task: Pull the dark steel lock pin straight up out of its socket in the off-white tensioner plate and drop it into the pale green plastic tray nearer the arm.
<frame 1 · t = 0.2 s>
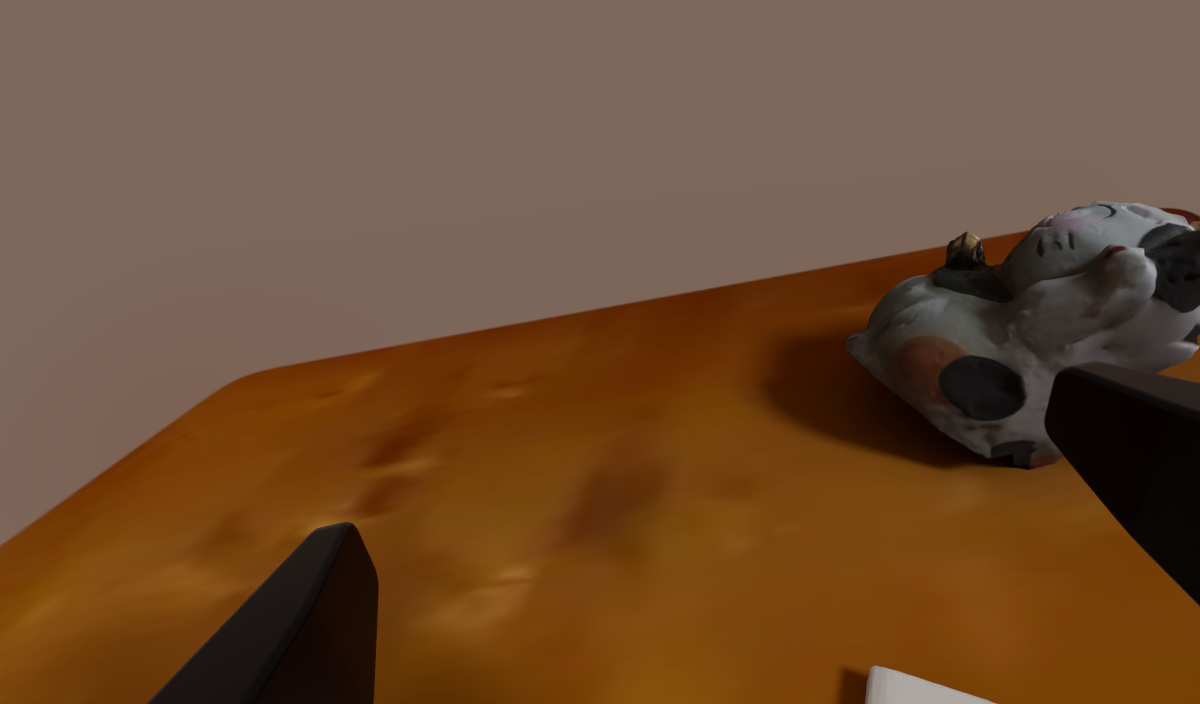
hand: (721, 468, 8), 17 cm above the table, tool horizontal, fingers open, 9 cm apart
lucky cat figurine: (988, 400, 35), on the table
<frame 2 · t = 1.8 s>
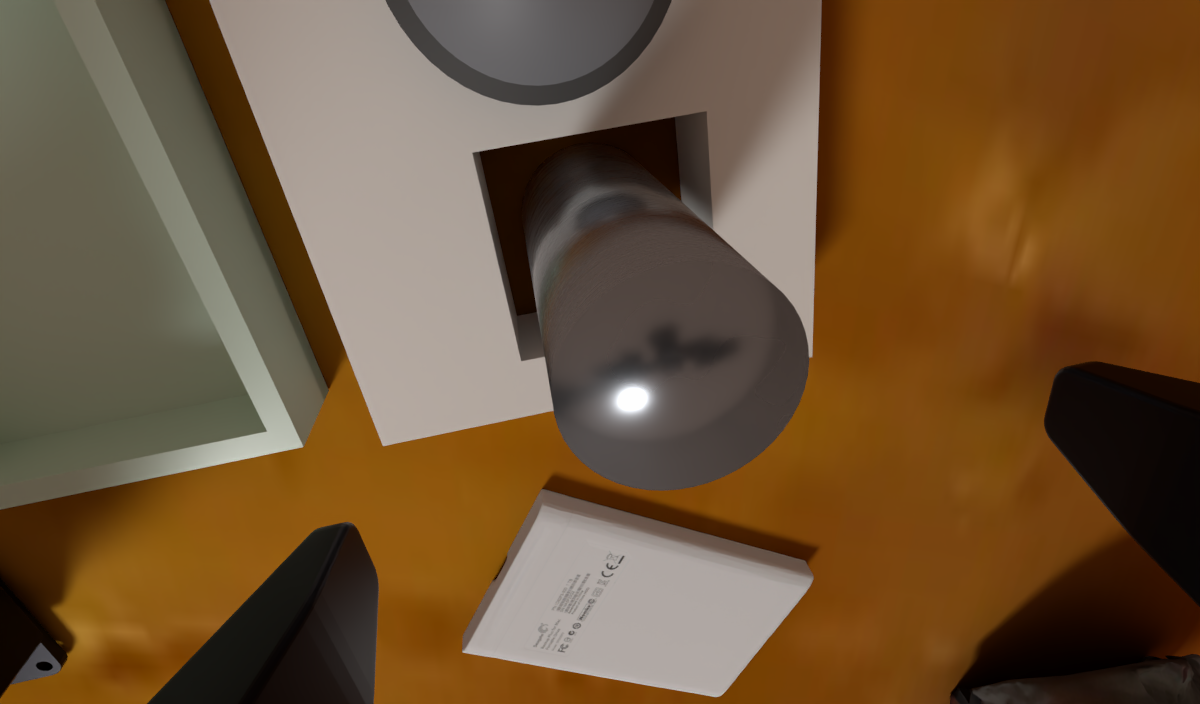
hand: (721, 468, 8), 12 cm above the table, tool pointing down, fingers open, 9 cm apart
lock pin: (590, 213, 18), resting in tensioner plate
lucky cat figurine: (1038, 686, 35), on the table
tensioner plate: (549, 129, 17), on the table
tray: (44, 218, 16), on the table
external hard drive: (634, 583, 27), on the table
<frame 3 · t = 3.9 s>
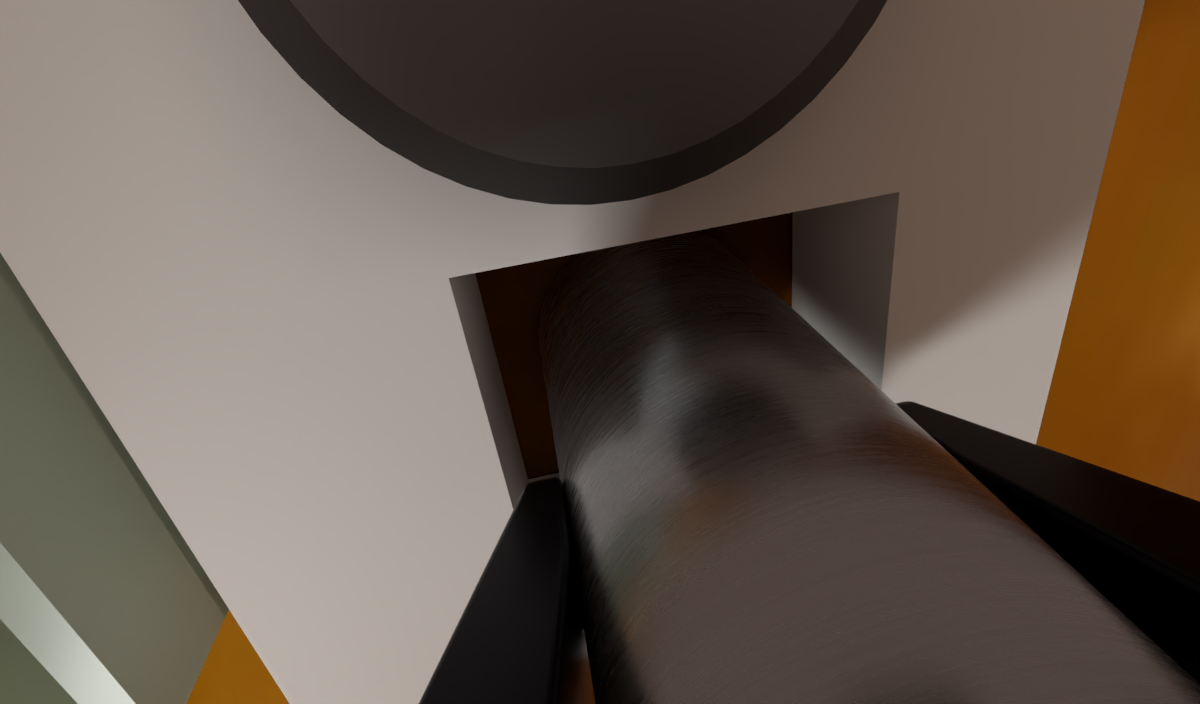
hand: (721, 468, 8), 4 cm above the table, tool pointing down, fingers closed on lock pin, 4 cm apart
lock pin: (648, 329, 11), resting in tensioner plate, touching gripper
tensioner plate: (586, 203, 10), on the table
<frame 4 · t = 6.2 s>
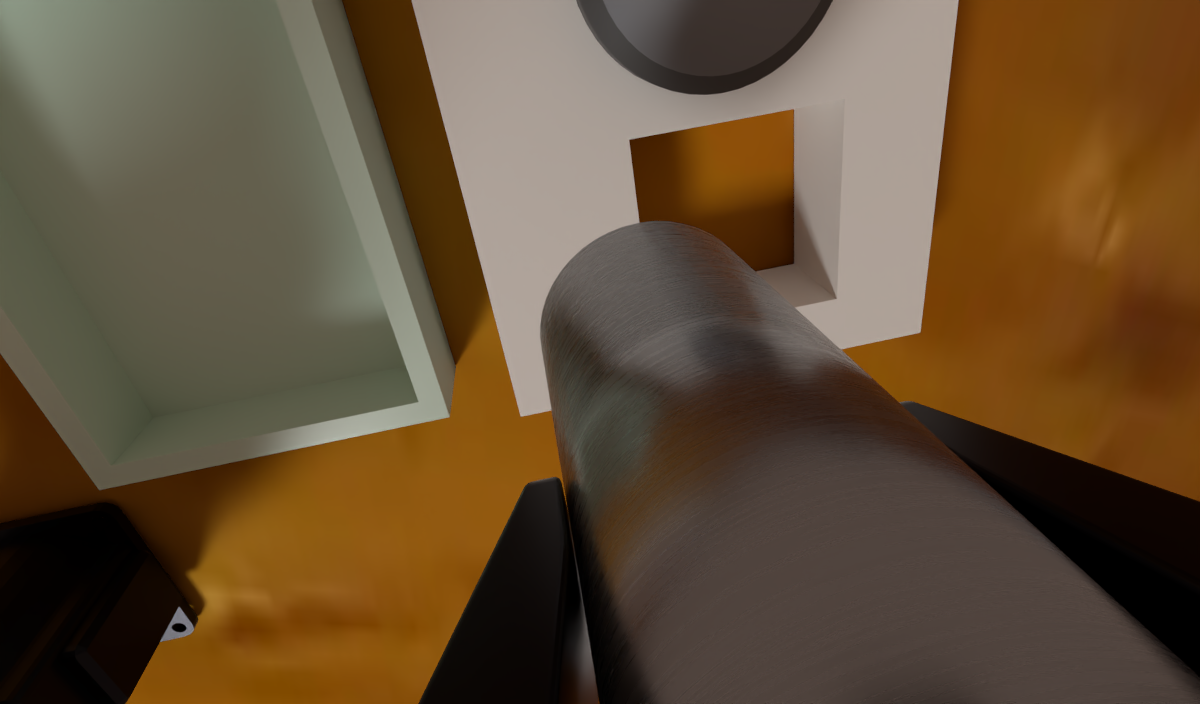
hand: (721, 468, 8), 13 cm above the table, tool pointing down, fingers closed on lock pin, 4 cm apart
lock pin: (650, 329, 11), point 9 cm above the table, touching gripper
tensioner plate: (678, 118, 18), on the table
tray: (216, 204, 17), on the table
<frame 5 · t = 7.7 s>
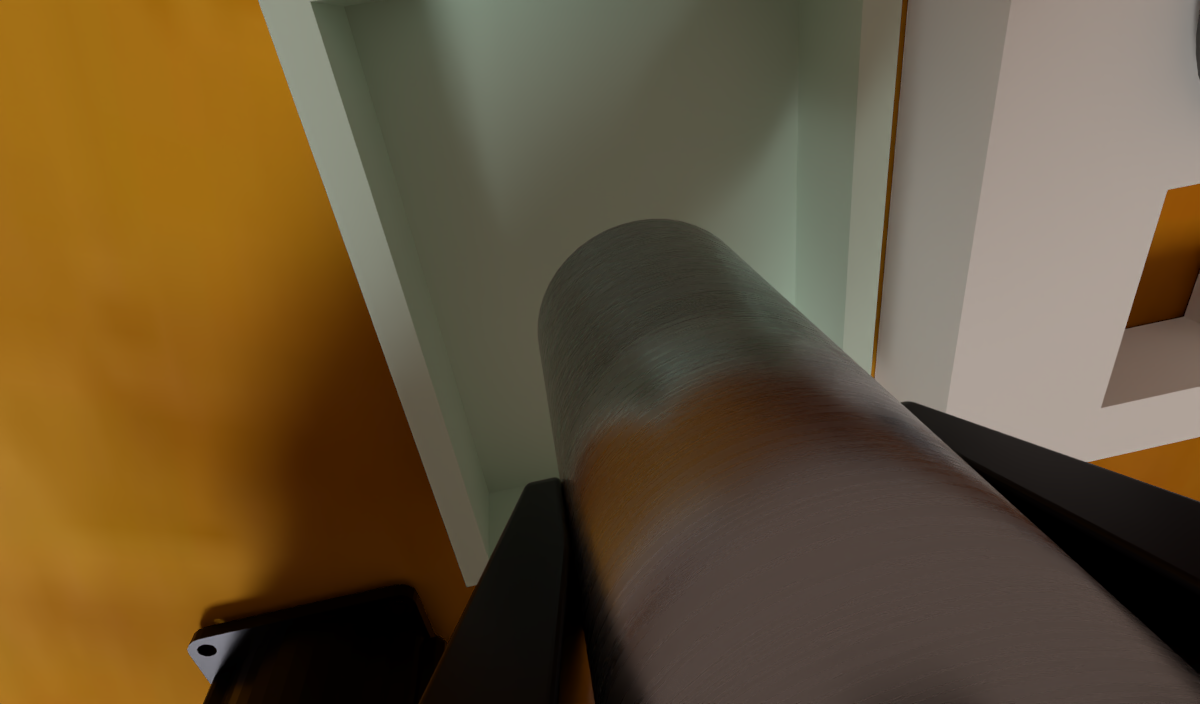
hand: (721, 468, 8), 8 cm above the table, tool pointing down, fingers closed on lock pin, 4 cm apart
lock pin: (648, 327, 11), point 4 cm above the table, touching gripper
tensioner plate: (1123, 158, 16), on the table
tray: (612, 254, 15), on the table
when the fingers open (7 cm above the table, at t = 8.7 s): lock pin drops 2 cm, resting on tray.
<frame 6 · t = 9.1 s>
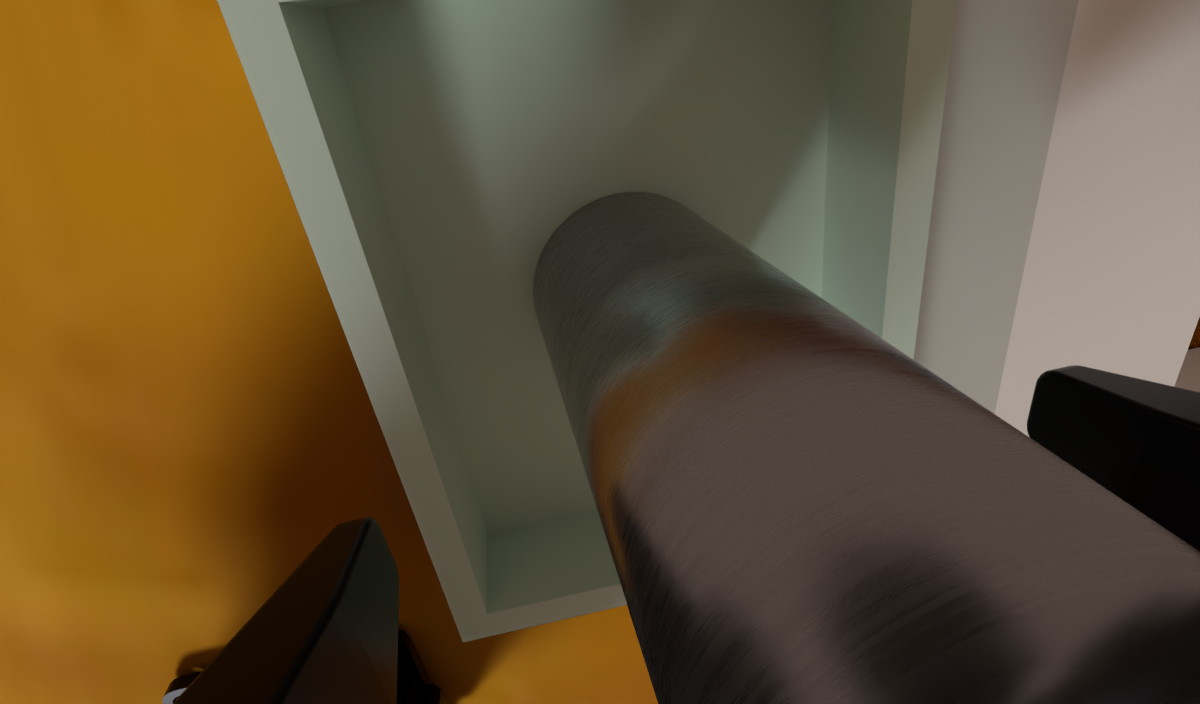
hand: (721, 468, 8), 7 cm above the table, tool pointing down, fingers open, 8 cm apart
lock pin: (629, 289, 13), point 1 cm above the table, touching tray
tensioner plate: (1175, 172, 14), on the table
tray: (622, 279, 13), on the table
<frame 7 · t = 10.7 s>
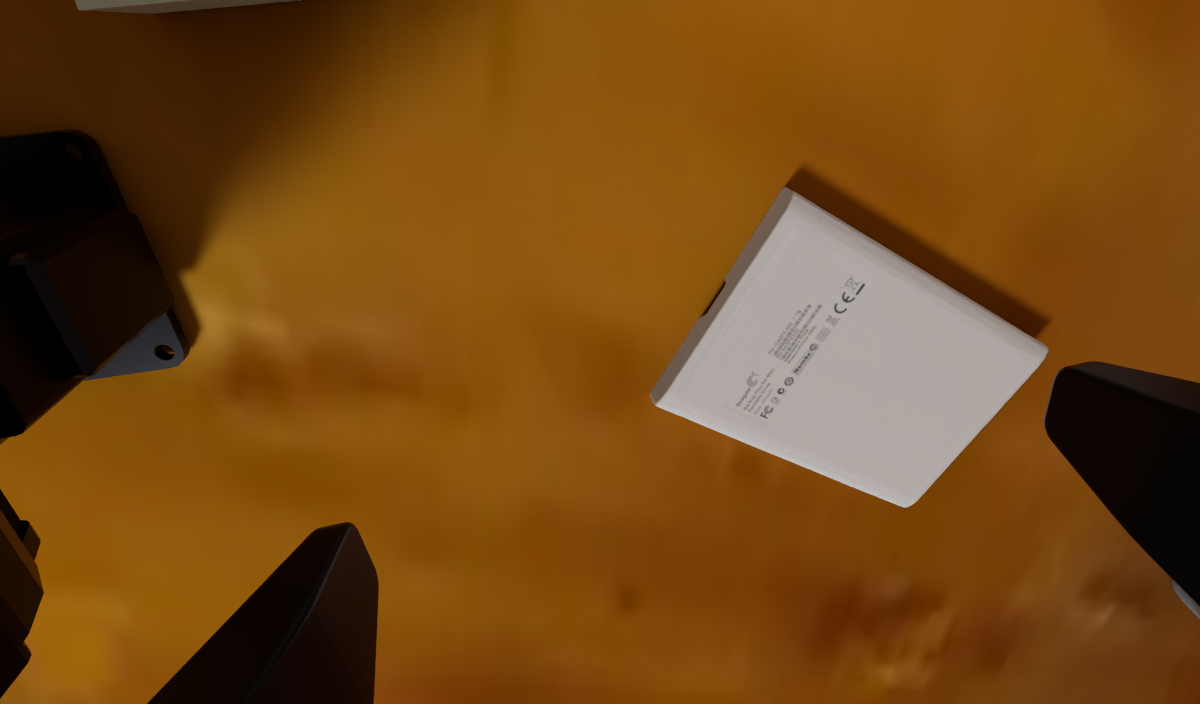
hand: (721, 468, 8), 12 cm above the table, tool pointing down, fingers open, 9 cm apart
external hard drive: (837, 355, 23), on the table
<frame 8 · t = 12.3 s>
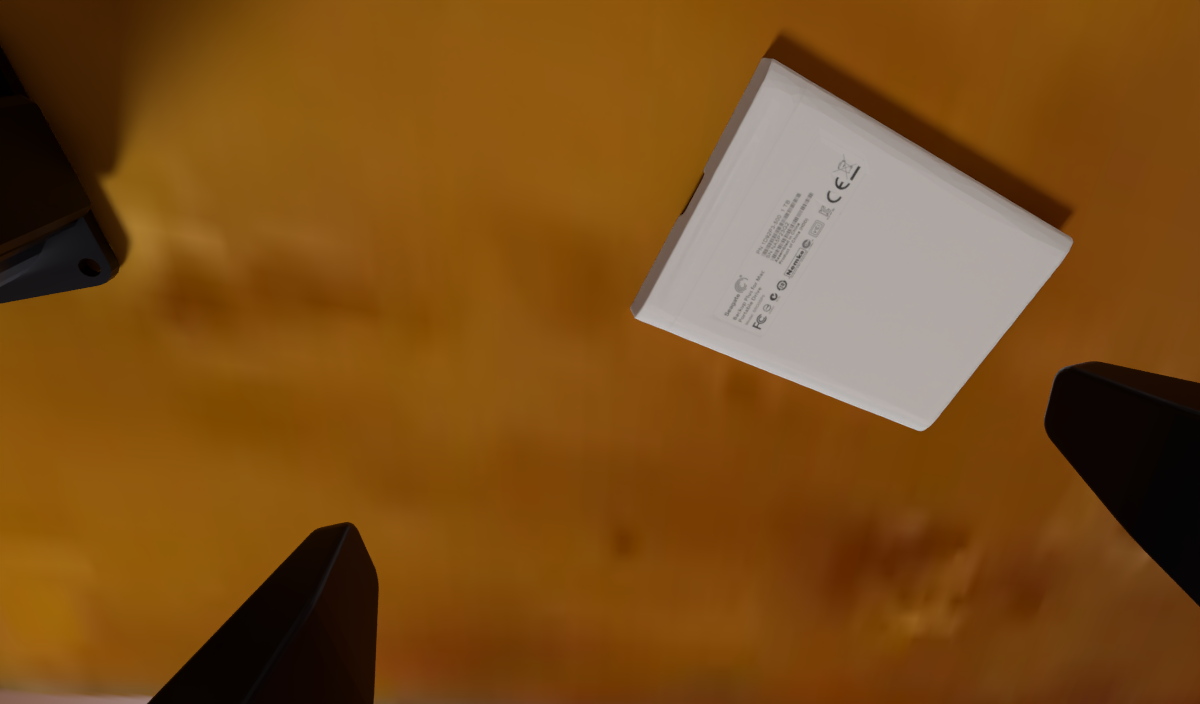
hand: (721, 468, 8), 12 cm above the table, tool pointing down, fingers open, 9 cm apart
external hard drive: (836, 261, 21), on the table
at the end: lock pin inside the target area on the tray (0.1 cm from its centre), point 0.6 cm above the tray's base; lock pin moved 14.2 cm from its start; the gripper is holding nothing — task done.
